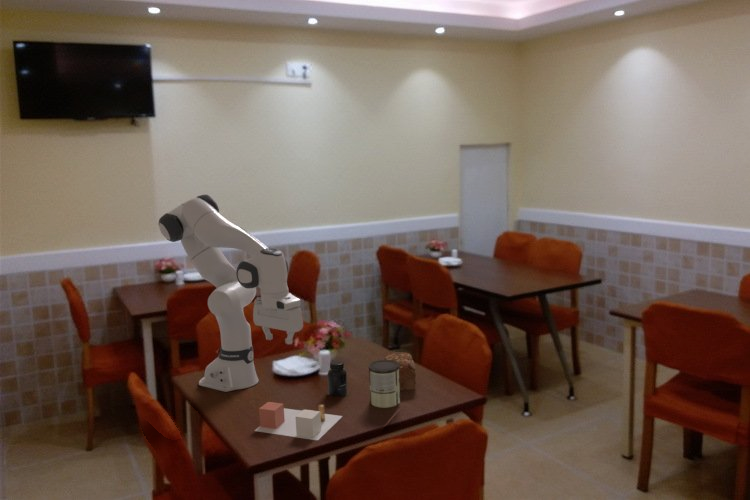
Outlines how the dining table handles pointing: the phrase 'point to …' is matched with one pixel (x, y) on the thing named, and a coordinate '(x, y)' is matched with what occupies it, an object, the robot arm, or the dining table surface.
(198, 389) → the dining table surface
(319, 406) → the bronze cylinder
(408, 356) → the bread
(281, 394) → the dining table surface
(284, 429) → the plate
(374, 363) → the coffee can
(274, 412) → the salmon red cube
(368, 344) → the dining table surface
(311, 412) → the pale grey cube
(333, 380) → the supplement bottle
